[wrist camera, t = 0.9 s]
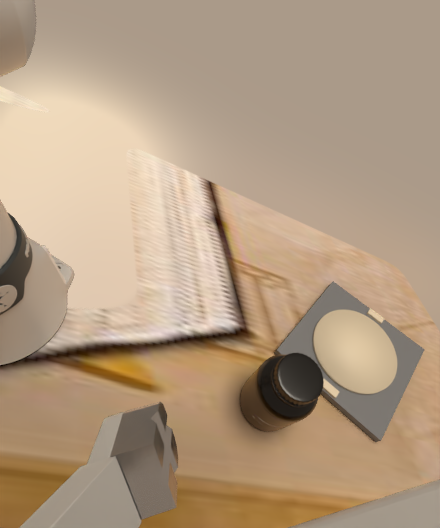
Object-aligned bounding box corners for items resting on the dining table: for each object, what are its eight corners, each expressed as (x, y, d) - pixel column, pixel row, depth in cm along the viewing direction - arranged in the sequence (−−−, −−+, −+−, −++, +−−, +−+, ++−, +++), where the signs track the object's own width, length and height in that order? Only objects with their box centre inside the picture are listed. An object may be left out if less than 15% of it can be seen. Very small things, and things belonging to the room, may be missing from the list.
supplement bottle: (250, 441, 38) (283, 425, 28) (231, 383, 41) (254, 351, 31) (301, 422, 40) (347, 400, 30) (278, 368, 43) (313, 334, 34)
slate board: (274, 353, 44) (278, 348, 43) (329, 285, 53) (334, 279, 51) (375, 441, 40) (383, 440, 38) (419, 352, 48) (427, 348, 47)
